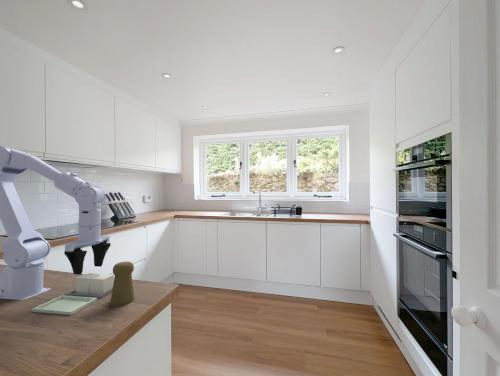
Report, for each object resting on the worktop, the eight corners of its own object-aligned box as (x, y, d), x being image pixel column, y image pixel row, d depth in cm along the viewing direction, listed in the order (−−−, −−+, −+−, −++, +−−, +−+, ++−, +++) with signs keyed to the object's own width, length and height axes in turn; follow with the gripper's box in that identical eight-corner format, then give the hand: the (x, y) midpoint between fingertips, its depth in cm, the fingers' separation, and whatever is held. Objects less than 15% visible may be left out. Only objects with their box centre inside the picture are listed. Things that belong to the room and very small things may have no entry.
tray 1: (32, 313, 58) (32, 308, 58) (62, 299, 66) (62, 295, 66) (71, 317, 57) (71, 312, 57) (96, 302, 65) (97, 297, 65)
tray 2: (65, 297, 67) (65, 293, 67) (90, 286, 76) (90, 282, 76) (99, 300, 66) (99, 296, 66) (121, 288, 75) (121, 284, 75)
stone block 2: (90, 294, 69) (91, 278, 69) (101, 288, 73) (101, 274, 73) (103, 295, 68) (103, 279, 68) (113, 289, 72) (114, 274, 73)
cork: (123, 308, 61) (125, 266, 62) (104, 306, 62) (105, 264, 63) (139, 299, 67) (140, 260, 67) (121, 296, 68) (122, 259, 69)
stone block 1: (75, 292, 69) (75, 277, 70) (87, 287, 74) (87, 273, 74) (88, 293, 69) (88, 278, 69) (99, 288, 73) (99, 273, 73)
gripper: (81, 229, 64) (79, 278, 64) (118, 223, 79) (117, 263, 78) (58, 228, 65) (57, 277, 65) (99, 222, 80) (98, 262, 79)
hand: (88, 269), depth 71 cm, fingers open, 7 cm apart
